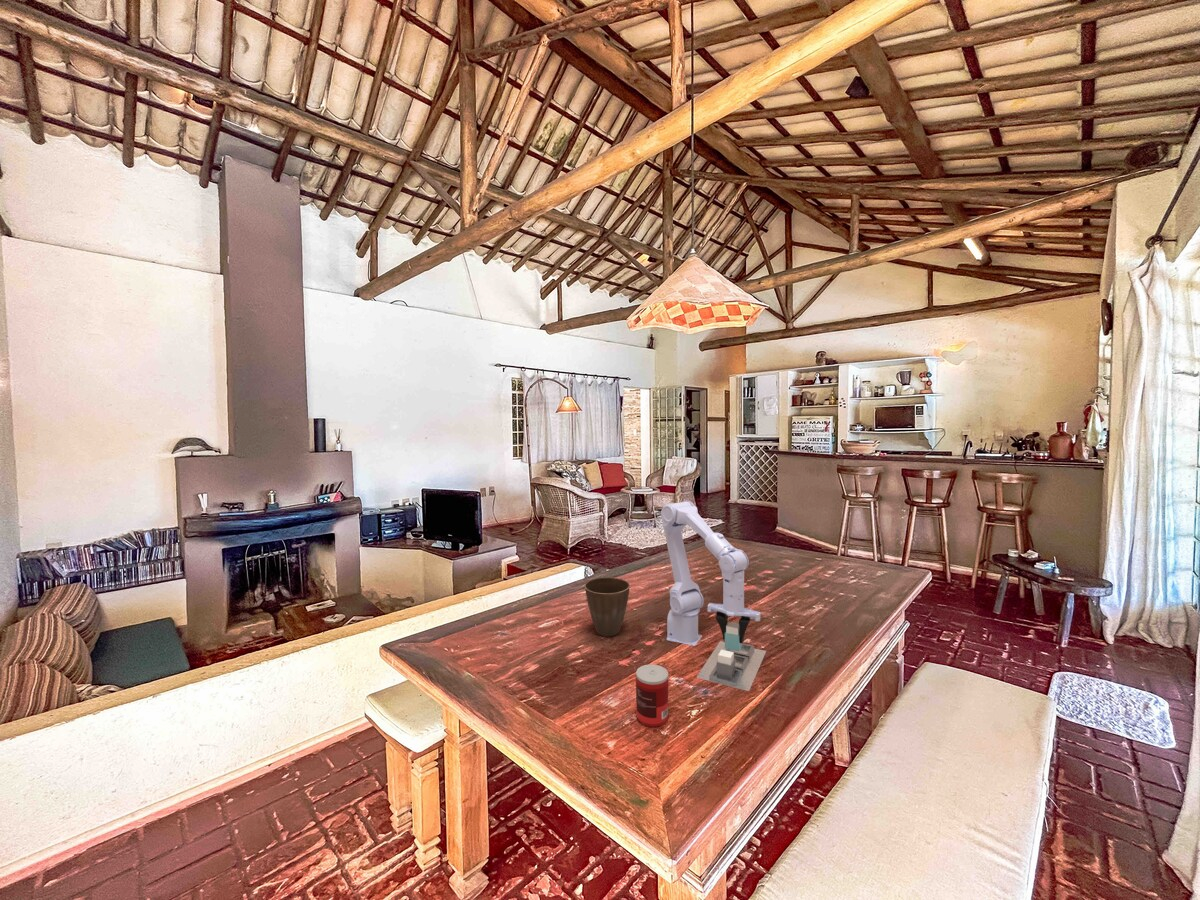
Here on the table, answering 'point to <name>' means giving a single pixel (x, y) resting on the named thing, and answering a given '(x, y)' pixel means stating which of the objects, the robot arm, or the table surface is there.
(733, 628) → the plug
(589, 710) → the table surface
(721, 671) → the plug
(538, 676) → the table surface
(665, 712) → the canned food
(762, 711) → the table surface
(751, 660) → the panel
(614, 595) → the plant pot
